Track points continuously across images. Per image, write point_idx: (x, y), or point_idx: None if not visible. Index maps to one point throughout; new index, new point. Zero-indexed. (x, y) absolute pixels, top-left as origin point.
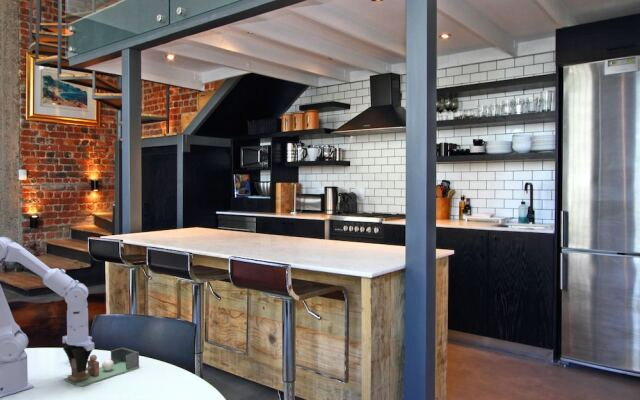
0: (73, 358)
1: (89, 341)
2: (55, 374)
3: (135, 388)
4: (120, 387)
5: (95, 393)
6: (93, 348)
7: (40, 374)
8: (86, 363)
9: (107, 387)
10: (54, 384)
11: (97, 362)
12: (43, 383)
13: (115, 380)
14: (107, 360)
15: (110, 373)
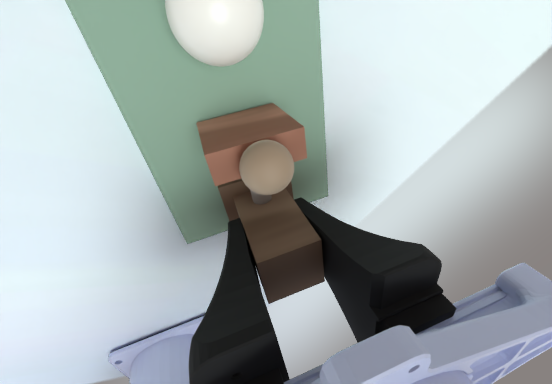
0: (275, 294)
1: (525, 344)
2: (60, 265)
3: (517, 17)
4: (454, 66)
5: (415, 163)
6: (530, 273)
7: (18, 316)
8: (325, 214)
9: (409, 111)
10: (219, 264)
11: (304, 137)
12: (178, 294)
13: (372, 45)
14: (240, 23)
15: (279, 28)
